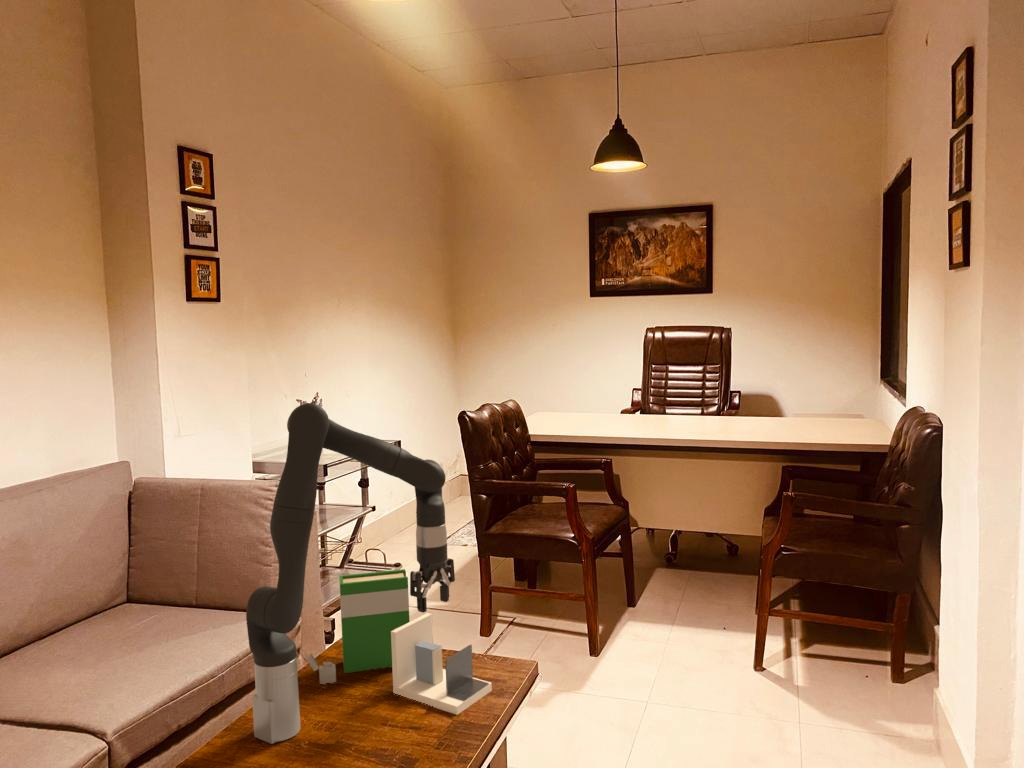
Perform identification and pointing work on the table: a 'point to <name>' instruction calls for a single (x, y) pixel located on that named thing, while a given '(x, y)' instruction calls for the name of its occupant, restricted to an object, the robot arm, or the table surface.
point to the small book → (429, 663)
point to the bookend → (461, 675)
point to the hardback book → (371, 617)
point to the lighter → (323, 670)
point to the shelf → (406, 669)
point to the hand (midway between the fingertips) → (433, 606)
